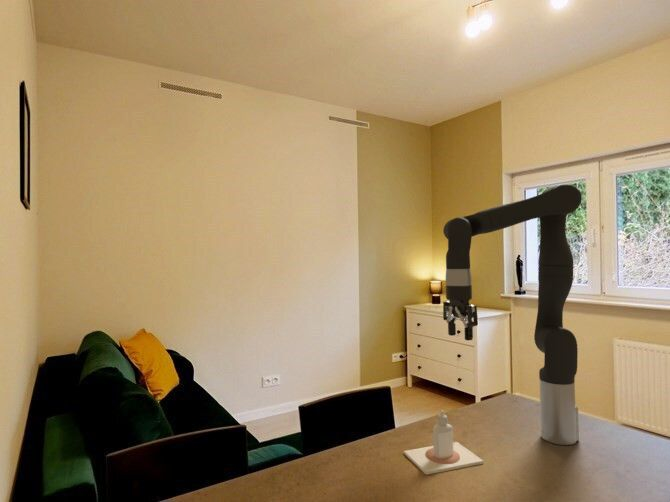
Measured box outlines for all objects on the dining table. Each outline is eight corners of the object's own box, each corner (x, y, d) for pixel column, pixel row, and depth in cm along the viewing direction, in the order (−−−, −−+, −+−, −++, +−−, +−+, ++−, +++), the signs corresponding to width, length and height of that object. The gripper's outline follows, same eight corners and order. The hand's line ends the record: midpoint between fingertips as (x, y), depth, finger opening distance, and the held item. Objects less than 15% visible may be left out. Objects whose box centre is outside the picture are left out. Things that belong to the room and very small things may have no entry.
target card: (456, 444, 120) (456, 441, 120) (483, 463, 108) (483, 460, 108) (404, 453, 115) (403, 450, 115) (425, 474, 103) (425, 471, 103)
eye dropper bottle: (456, 459, 109) (454, 413, 109) (434, 459, 109) (433, 413, 109) (452, 451, 113) (450, 407, 114) (431, 451, 114) (430, 407, 114)
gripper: (484, 284, 119) (485, 341, 119) (455, 282, 133) (457, 332, 132) (461, 285, 117) (463, 343, 117) (435, 283, 131) (436, 334, 130)
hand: (460, 337), depth 125 cm, fingers open, 8 cm apart
